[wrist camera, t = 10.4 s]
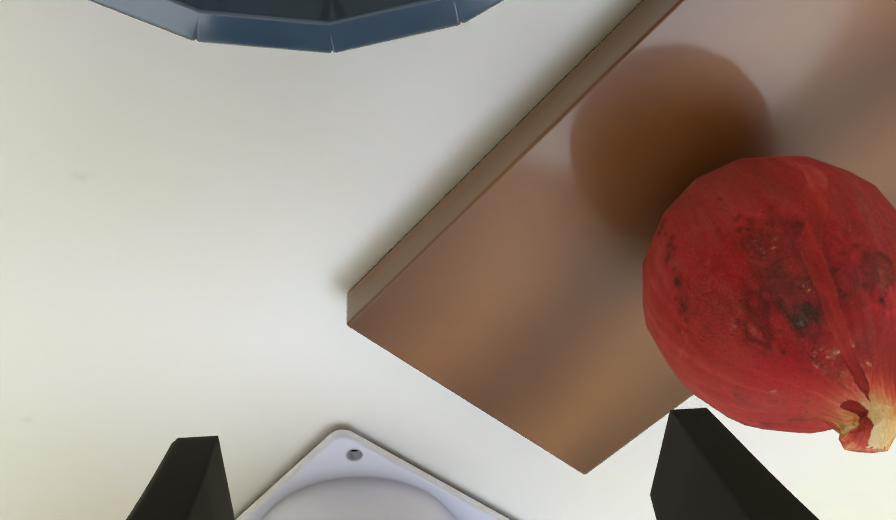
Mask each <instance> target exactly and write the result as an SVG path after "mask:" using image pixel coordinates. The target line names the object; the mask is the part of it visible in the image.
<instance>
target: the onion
mask: <svg viewBox="0 0 896 520" xmlns="http://www.w3.org/2000/svg"><path fill="white" fill-rule="evenodd" d="M643 309H644V316H645V323H646V327H647V329H648V331H649V332H650V334H651V336H652V338H653V340H654V341H655V343H656V345H657V347H658V349H659V350H660V352H661V354H662V355H663V357H664V359H665V360H666V362H667V364H668V365H669V367H670V368H671V370H672V371H673V373H674V374H675V376H676V377H677V379H678V380H679V381H680V382H681V383H682V384H683V385H684V386H685V387H687V388H688V389H689V390H690V391H691V392H692V393H693V394H694V395H695V396H697V397H698V398H700V399H701V400H703V401H704V402H706V403H707V404H709V405H710V406H712V407H713V408H715V409H716V410H718V411H719V412H721V413H722V414H724V415H725V416H727V417H728V418H731V419H733V420H735V421H737V422H739V423H741V424H744V425H747V426H751V427H756V428H760V429H767V430H776V431H786V432H796V433H815V432H822V431H827V430H831V429H834V430H835V431H836V432H838V433H839V434H840V435H839V441H840V442H841V444H842V446H843V448H844V450H849V451H855V452H865V453H876V452H884V451H888V449H889V448H890V446H891V444H892V442H893V440H894V438H895V437H896V209H895V208H894V207H893V206H892V204H891V203H890V202H889V201H888V200H887V199H886V197H885V196H884V195H883V194H882V193H881V192H880V190H879V189H878V188H877V187H876V186H875V185H874V184H872V183H870V182H868V181H866V180H865V179H863V178H861V177H859V176H857V175H855V174H854V173H852V172H850V171H848V170H845V169H842V168H839V167H836V166H833V165H831V164H828V163H825V162H822V161H819V160H816V159H814V158H811V157H808V156H772V157H755V158H739V159H737V160H735V161H733V162H730V163H728V164H726V165H724V166H722V167H720V168H717V169H715V170H713V171H711V172H709V173H707V174H705V175H702V176H700V177H698V178H696V179H695V180H694V181H693V182H692V183H691V184H690V185H689V186H688V187H687V188H686V189H685V190H684V191H683V192H682V193H681V195H680V196H679V197H678V198H677V199H676V200H675V201H674V202H673V203H672V204H671V205H670V206H669V207H668V208H667V209H666V211H665V212H664V213H663V216H662V218H661V220H660V223H659V225H658V227H657V230H656V232H655V235H654V237H653V240H652V242H651V245H650V247H649V250H648V252H647V255H646V257H645V260H644V262H643Z"/></svg>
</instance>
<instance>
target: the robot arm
mask: <svg viewBox="0 0 896 520" xmlns="http://www.w3.org/2000/svg"><path fill="white" fill-rule="evenodd" d="M355 449H356V450H359V451H355V452H352V451H350V450H355ZM650 496H651V500H652V504H653V508H654V512H655V515H656V519H657V520H819V519H818V518H817V517H816V516H815V515H814V514H813V513H812V512H811V511H809V510H808V509H807V508H806V507H805V506H804V505H803V504H802V503H801V502H800V501H799V500H798V499H797V498H796V497H795V496H794V495H793V494H792V493H791V492H790V491H789V490H787V489H786V488H785V487H784V486H783V485H782V484H781V483H780V482H779V481H778V480H777V479H776V478H775V477H774V476H773V475H772V474H771V473H770V472H769V471H768V470H767V469H766V468H765V467H764V466H763V465H762V464H761V463H760V462H759V461H758V460H757V459H756V458H755V457H754V456H753V455H752V454H751V453H750V452H749V451H748V450H747V448H746V447H745V446H744V445H743V444H742V443H741V442H740V441H739V440H738V439H737V438H736V437H735V436H734V435H733V434H732V433H731V432H730V431H729V430H728V429H727V428H726V427H725V426H724V425H723V424H722V423H721V422H720V421H719V420H718V419H717V418H716V417H715V416H714V415H713V414H712V413H711V412H710V411H709V410H708V409H707V408H695V409H677V410H670V413H669V417H668V421H667V425H666V430H665V434H664V438H663V442H662V447H661V451H660V455H659V459H658V463H657V468H656V472H655V476H654V480H653V485H652V489H651V493H650ZM126 520H235V518H234V513H233V508H232V503H231V498H230V493H229V488H228V483H227V478H226V473H225V468H224V463H223V458H222V453H221V448H220V443H219V438H218V436H206V437H188V438H177V439H176V440H175V441H174V442H173V443H172V444H171V446H170V447H169V449H168V451H167V453H166V455H165V456H164V458H163V460H162V462H161V464H160V465H159V467H158V469H157V470H156V472H155V474H154V476H153V477H152V479H151V481H150V482H149V484H148V486H147V487H146V489H145V491H144V492H143V494H142V495H141V497H140V499H139V500H138V502H137V503H136V505H135V507H134V508H133V510H132V511H131V513H130V515H129V516H128V518H127V519H126ZM236 520H510V519H508V518H506V517H504V516H503V515H501V514H499V513H497V512H495V511H494V510H492V509H490V508H488V507H486V506H485V505H483V504H481V503H479V502H478V501H476V500H474V499H472V498H470V497H469V496H467V495H465V494H463V493H461V492H460V491H458V490H456V489H454V488H452V487H451V486H449V485H447V484H445V483H443V482H442V481H440V480H438V479H436V478H434V477H433V476H431V475H429V474H427V473H425V472H424V471H422V470H420V469H418V468H416V467H415V466H413V465H411V464H409V463H407V462H406V461H404V460H402V459H400V458H398V457H397V456H395V455H393V454H391V453H389V452H388V451H386V450H384V449H382V448H380V447H379V446H377V445H375V444H373V443H371V442H370V441H368V440H366V439H364V438H362V437H361V436H359V435H357V434H355V433H353V432H351V431H349V430H337V431H334V432H332V433H331V434H329V435H328V436H327V437H326V438H325V439H324V440H323V441H322V442H321V443H319V444H318V445H317V446H316V447H315V448H314V449H313V450H312V451H311V452H310V453H308V454H307V455H306V456H305V457H304V458H303V459H302V460H301V461H300V462H298V463H297V464H296V465H295V466H294V467H293V468H292V469H291V470H290V471H289V472H287V473H286V474H285V475H284V476H283V477H282V478H281V479H280V480H279V481H277V482H276V483H275V484H274V485H273V486H272V487H271V488H270V489H269V490H268V491H266V492H265V493H264V494H263V495H262V496H261V497H260V498H259V499H258V500H256V501H255V502H254V503H253V504H252V505H251V506H250V507H249V508H248V509H247V510H245V511H244V512H243V513H242V514H241V515H240V516H239V517H238V518H237V519H236Z"/></svg>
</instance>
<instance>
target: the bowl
mask: <svg viewBox="0 0 896 520" xmlns="http://www.w3.org/2000/svg"><path fill="white" fill-rule="evenodd" d="M89 1H92V2H94V3H97V4H100V5H102V6H105V7H107V8H110V9H112V10H115V11H118V12H120V13H123V14H125V15H128V16H130V17H133V18H136V19H138V20H141V21H143V22H146V23H148V24H151V25H154V26H156V27H159V28H161V29H164V30H167V31H169V32H172V33H174V34H177V35H179V36H182V37H185V38H187V39H190V40H197V41H199V42H206V43H218V44H229V45H241V46H252V47H264V48H275V49H287V50H299V51H310V52H322V53H330V52H332V51H333V52H336V53H337V52H341V51H346V50H350V49H355V48H359V47H364V46H368V45H373V44H377V43H381V42H386V41H390V40H395V39H399V38H404V37H408V36H413V35H417V34H422V33H426V32H431V31H435V30H440V29H444V28H449V27H453V26H457V25H459V24H461V22H462V23H465V22H467V21H469V20H471V19H472V18H474V17H476V16H477V15H479V14H481V13H483V12H484V11H486V10H488V9H490V8H491V7H493V6H495V5H496V4H498V3H500V2H502V1H503V0H89Z"/></svg>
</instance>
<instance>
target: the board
mask: <svg viewBox="0 0 896 520" xmlns="http://www.w3.org/2000/svg"><path fill="white" fill-rule="evenodd" d="M772 156H808V157H811V158H814V159H816V160H819V161H822V162H825V163H828V164H831V165H833V166H836V167H839V168H842V169H845V170H848V171H850V172H852V173H854V174H855V175H857V176H859V177H861V178H863V179H865V180H866V181H868V182H870V183H872V184H874V185H875V186H876V187H877V188H878V189H879V190H880V192H881V193H882V194H883V195H884V196H885V197H886V199H887V200H888V201H889V202H890V203H891V204H892V206H893V207H894V208H895V209H896V0H643V1H642V2H641V3H640V4H639V5H638V6H637V7H636V8H635V9H634V10H633V11H632V12H631V13H630V14H629V15H628V16H627V17H626V18H625V19H624V20H623V21H622V22H621V23H620V24H619V25H618V26H617V27H616V28H615V29H614V30H613V31H612V32H611V33H610V34H609V35H608V36H607V37H606V38H605V39H604V40H603V41H602V42H601V43H600V44H599V45H598V46H597V47H596V48H595V49H594V50H593V51H592V52H591V53H590V54H589V55H588V56H587V57H586V58H585V59H584V60H583V61H582V62H580V63H579V64H578V65H577V66H576V67H575V68H574V69H573V70H572V71H571V72H570V73H569V74H568V75H567V76H566V77H565V78H564V79H563V80H562V81H561V82H560V83H559V84H558V85H557V86H556V87H555V88H554V89H553V90H552V91H551V92H550V93H549V94H548V95H547V96H546V97H545V98H544V99H543V100H542V101H541V102H540V103H539V104H538V105H537V106H536V107H535V108H534V109H533V110H532V111H531V112H530V113H529V114H528V115H527V116H526V117H525V118H524V119H523V120H522V121H521V122H520V123H519V124H518V125H517V126H516V127H515V128H514V129H513V130H512V131H511V132H510V133H509V134H508V135H507V136H506V137H505V138H504V139H503V140H502V141H501V142H500V143H499V144H498V145H497V146H496V147H495V148H494V149H493V150H492V151H491V152H490V153H489V154H488V155H487V156H486V157H485V158H484V159H483V160H482V161H481V162H480V163H479V164H478V165H477V166H476V167H475V168H474V169H473V170H472V171H471V172H470V173H469V174H468V175H467V176H466V177H465V178H464V179H463V180H462V181H460V182H459V183H458V184H457V185H456V186H455V187H454V188H453V189H452V190H451V191H450V192H449V193H448V194H447V195H446V196H445V197H444V198H443V199H442V200H441V201H440V202H439V203H438V204H437V205H436V206H435V207H434V208H433V209H432V210H431V211H430V212H429V213H428V214H427V215H426V216H425V217H424V218H423V219H422V220H421V221H420V222H419V223H418V224H417V225H416V226H415V227H414V228H413V229H412V230H411V231H410V232H409V233H408V234H407V235H406V236H405V237H404V238H403V239H402V240H401V241H400V242H399V243H398V244H397V245H396V246H395V247H394V248H393V249H392V250H391V251H390V252H389V253H388V254H387V255H386V256H385V257H384V258H383V259H382V260H381V261H380V262H379V263H378V264H377V265H376V266H375V267H374V268H373V269H372V270H371V271H370V272H369V273H368V274H367V275H366V276H365V277H364V278H363V279H362V280H361V281H360V282H359V283H358V284H357V285H356V286H355V287H354V288H353V289H352V290H351V291H350V292H349V293H348V294H347V325H348V326H349V327H350V328H352V329H354V330H355V331H357V332H358V333H360V334H362V335H363V336H365V337H366V338H368V339H370V340H371V341H373V342H374V343H376V344H377V345H379V346H381V347H382V348H384V349H385V350H387V351H389V352H390V353H392V354H393V355H395V356H397V357H398V358H400V359H401V360H403V361H405V362H406V363H408V364H409V365H411V366H412V367H414V368H416V369H417V370H419V371H420V372H422V373H424V374H425V375H427V376H428V377H430V378H432V379H433V380H435V381H436V382H438V383H439V384H441V385H443V386H444V387H446V388H447V389H449V390H451V391H452V392H454V393H455V394H457V395H459V396H460V397H462V398H463V399H465V400H467V401H468V402H470V403H471V404H473V405H474V406H476V407H478V408H479V409H481V410H482V411H484V412H486V413H487V414H489V415H490V416H492V417H494V418H495V419H497V420H498V421H500V422H501V423H503V424H505V425H506V426H508V427H509V428H511V429H513V430H514V431H516V432H517V433H519V434H521V435H522V436H524V437H525V438H527V439H529V440H530V441H532V442H533V443H535V444H536V445H538V446H540V447H541V448H543V449H544V450H546V451H548V452H549V453H551V454H552V455H554V456H556V457H557V458H559V459H560V460H562V461H563V462H565V463H567V464H568V465H570V466H571V467H573V468H575V469H576V470H578V471H579V472H581V473H583V474H587V473H588V472H590V471H591V470H592V469H594V468H595V467H596V466H598V465H599V464H601V463H602V462H603V461H605V460H606V459H607V458H609V457H610V456H611V455H613V454H614V453H615V452H617V451H618V450H619V449H621V448H622V447H623V446H625V445H626V444H627V443H629V442H630V441H631V440H633V439H634V438H636V437H637V436H638V435H640V434H641V433H642V432H644V431H645V430H646V429H648V428H649V427H650V426H652V425H653V424H654V423H656V422H657V421H658V420H660V419H661V418H662V417H664V416H665V415H666V414H668V413H669V412H670V410H673V409H675V408H676V407H677V406H679V405H680V404H681V403H683V402H684V401H685V400H687V399H688V398H689V397H691V396H692V395H693V393H692V392H691V391H690V390H689V389H688V388H687V387H685V386H684V385H683V384H682V383H681V382H680V381H679V380H678V379H677V377H676V376H675V374H674V373H673V371H672V370H671V368H670V367H669V365H668V364H667V362H666V360H665V359H664V357H663V355H662V354H661V352H660V350H659V349H658V347H657V345H656V343H655V341H654V340H653V338H652V336H651V334H650V332H649V331H648V329H647V327H646V323H645V316H644V309H643V262H644V260H645V257H646V255H647V252H648V250H649V247H650V245H651V242H652V240H653V237H654V235H655V232H656V230H657V227H658V225H659V223H660V220H661V218H662V216H663V213H664V212H665V211H666V209H667V208H668V207H669V206H670V205H671V204H672V203H673V202H674V201H675V200H676V199H677V198H678V197H679V196H680V195H681V193H682V192H683V191H684V190H685V189H686V188H687V187H688V186H689V185H690V184H691V183H692V182H693V181H694V180H695V179H696V178H698V177H700V176H702V175H705V174H707V173H709V172H711V171H713V170H715V169H717V168H720V167H722V166H724V165H726V164H728V163H730V162H733V161H735V160H737V159H739V158H755V157H772Z"/></svg>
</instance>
